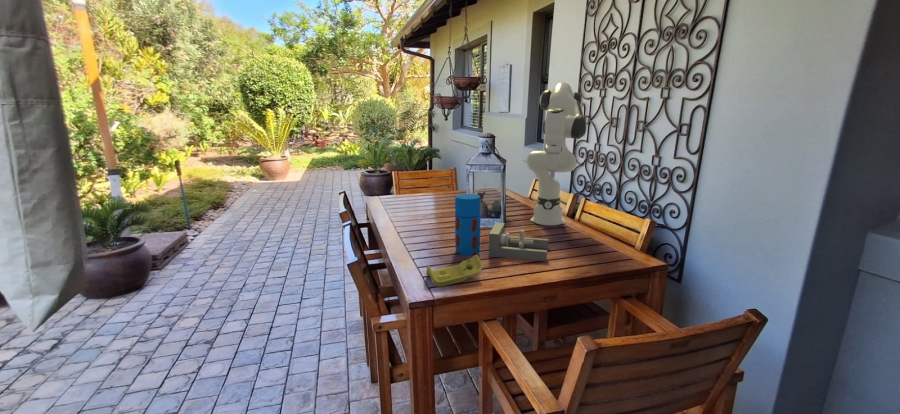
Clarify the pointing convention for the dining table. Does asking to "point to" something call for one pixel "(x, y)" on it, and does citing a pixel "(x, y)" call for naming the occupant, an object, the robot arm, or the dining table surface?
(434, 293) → the dining table surface
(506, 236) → the rounded knob
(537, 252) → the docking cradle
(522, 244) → the pipe connector
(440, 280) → the plastic component
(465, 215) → the thermos
